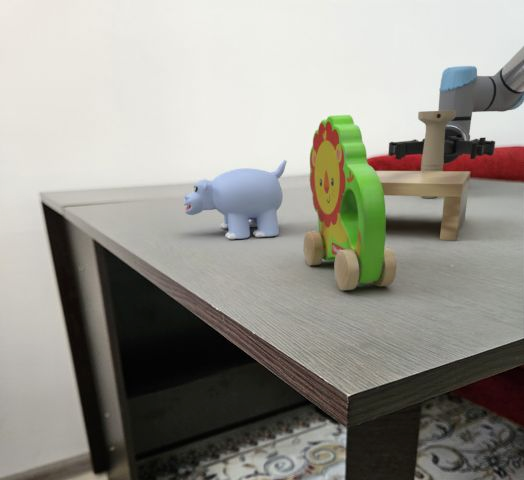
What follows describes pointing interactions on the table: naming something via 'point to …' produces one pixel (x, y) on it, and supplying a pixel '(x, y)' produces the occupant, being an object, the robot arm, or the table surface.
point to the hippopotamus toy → (241, 200)
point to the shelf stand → (433, 193)
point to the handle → (434, 139)
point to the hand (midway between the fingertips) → (434, 151)
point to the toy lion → (347, 208)
